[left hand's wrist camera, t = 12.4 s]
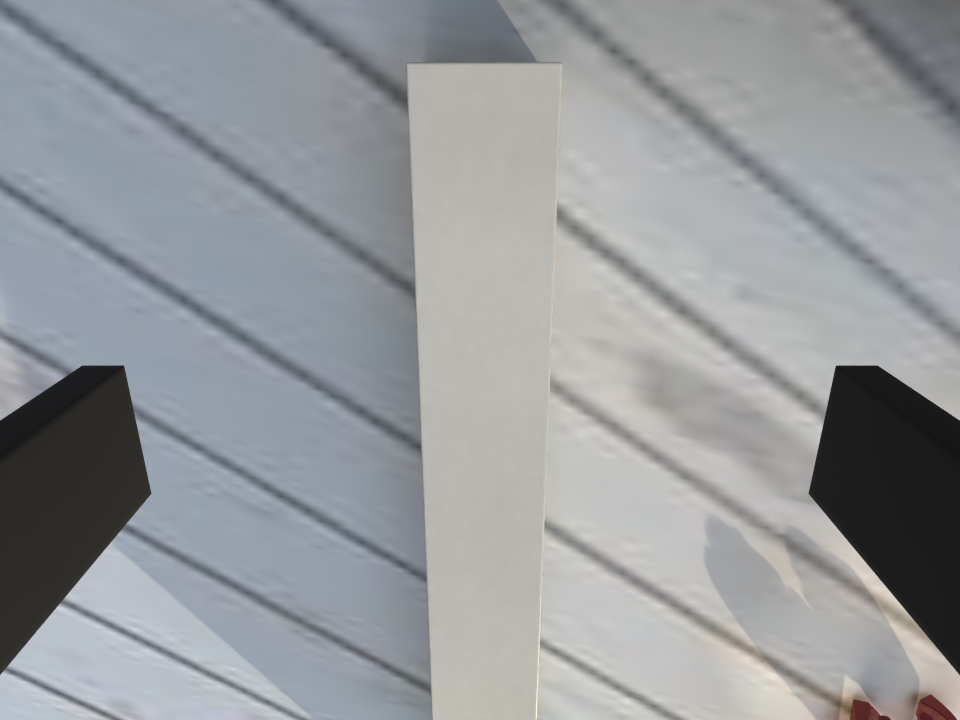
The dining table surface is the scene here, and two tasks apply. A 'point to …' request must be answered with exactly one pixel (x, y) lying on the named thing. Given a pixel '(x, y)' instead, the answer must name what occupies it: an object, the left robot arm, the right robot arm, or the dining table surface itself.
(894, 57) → the dining table surface
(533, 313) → the beam
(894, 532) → the left robot arm
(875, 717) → the red rounded lump
